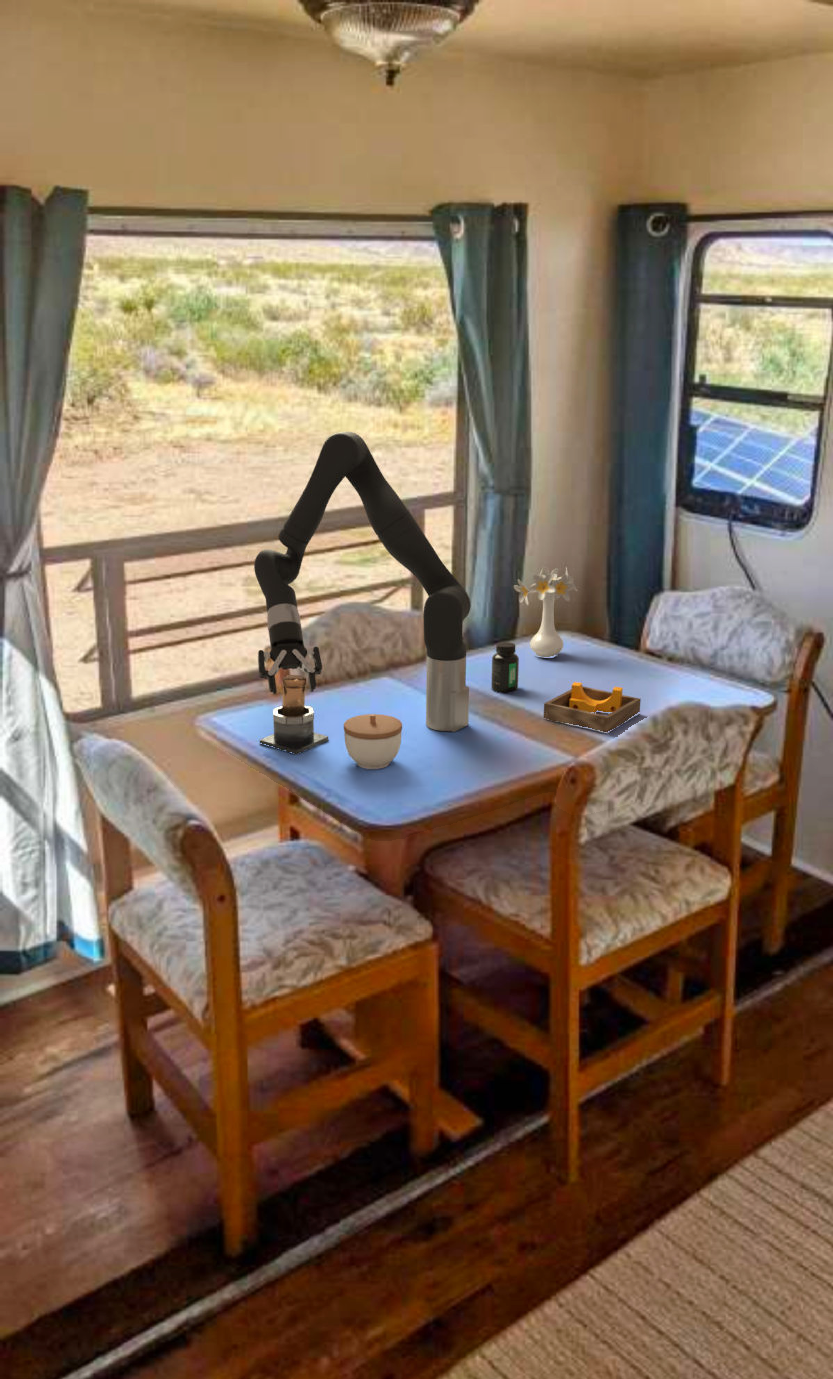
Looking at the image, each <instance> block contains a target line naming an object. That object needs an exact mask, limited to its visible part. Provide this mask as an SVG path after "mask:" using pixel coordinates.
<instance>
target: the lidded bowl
mask: <svg viewBox="0 0 833 1379" xmlns="http://www.w3.org/2000/svg"><path fill="white" fill-rule="evenodd" d="M402 730H403V723H402V721H401V720H400V719H398V718H396V717H394V716H391V715H386V714H380V713H378V714H376V713H373V714H372V713H370V714H369V713H368V714H360V715H355V716H353V717H350V718H348V719H347V720H345V722H343V731H344V732H343V734H344V735H343V736H344V745H345V749H346V751H347V754H348V755H349V756H350V758H351V759H352V760H353V762H355V763H356V765H357V766H358V767H360V768H362V769H367V770H378V769H383V768H387V767H388V766H389V765H390V764H391V762H392V761H393V760H394V759H395V758H396V757H397V755H398V753H399V751H400V748H401V742H402Z"/></svg>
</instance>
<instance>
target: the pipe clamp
mask: <svg viewBox="0 0 833 1379" xmlns="http://www.w3.org/2000/svg"><path fill="white" fill-rule="evenodd" d="M582 686H583V683H582V682H577V681H576V682H575V681H574V682H573V683H571V689H572V691H571V699H570V701H569V708H574V709H578V710H582V711H587V712H594V713H595V712H596V711H597V710H598V711H603V712H614V711H615V710H617V709H619V708H621V706H622V695H623V689H624V688H623V687H620V686H614V687H613V688H612V695H611V696H610V697H609V698H607V699H605V700H602V701H597V700H593V699H591V698H589V697H588V696H587V695H586V694H585V692H584V691H583V688H582ZM613 707H615V708H616V709H614V708H613Z"/></svg>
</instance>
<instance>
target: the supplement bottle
mask: <svg viewBox="0 0 833 1379" xmlns="http://www.w3.org/2000/svg"><path fill="white" fill-rule="evenodd" d="M495 647H496V648H495V652H496V653H495V654H493V656H492V659H491V686H490V687H491V689H492V691H494V692H496V691H497V693H499V692H501V694H510V693H509V692H512V693H514V691H515V692H516V691H517V690H518V688H519V668H520V667H519V664H520V663H519V662H520V660H519V659H520V658H519V656H518V654H516V644H515V643H514V642H510V641H509V642H508V641H501V642H498V643H496V645H495Z"/></svg>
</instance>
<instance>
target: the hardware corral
mask: <svg viewBox="0 0 833 1379" xmlns="http://www.w3.org/2000/svg"><path fill="white" fill-rule="evenodd" d="M582 688H583V691H584V692H585V694H586V695H587V696H588V697H589V698H591V699H593V700H597V701H602V700H605V699H607V698H609V697H610V696H611V695H612V692H610V691H606V690H602V689H599V688H598V689H597V688H592V687H586V686H583V685H582ZM571 691H572V688H571V689H569V690H567V691H565V692H563V693H561V694H560V695H557V696H555V697H553V698H551V699H549V700H548V701H546V702H545V703H543V704H544V705H543V718H546V719H549V720H552V721H551V722H554V721H558V722H561V723H560V724H562V722H563V723H569V724H573V725H579V726H582V727H588V728H592V729H595V730H600V731H603V732H608V731H610V730H612V729H614V728H616V727H617V726H619V725H621V724H622V723H624V722H625V721H627V720H628V719H629V718H631V717H632V716H634V715H635V714H637V713H638V712H640V713H641V703H642V702H641V699H642V698H638V697H635V696H629V695H624V694H622V706H621V708H619V709H617V710H615V711H614V712H612V713H610V714H606V715H605V714H601V713H596V714H595V713H591V712H587V711H582V710H578V709H574V708H569V701H570V699H571ZM613 708H614V709H616V708H615V707H613ZM549 720H548V721H549ZM558 722H557V723H558ZM624 724H625V723H624ZM621 726H622V725H621ZM616 729H617V728H616Z"/></svg>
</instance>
